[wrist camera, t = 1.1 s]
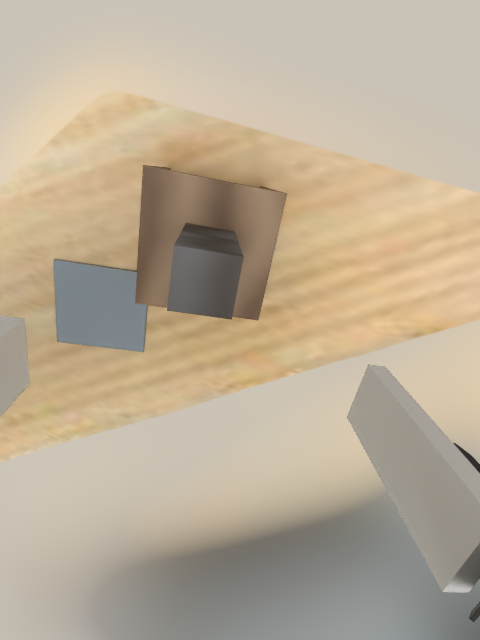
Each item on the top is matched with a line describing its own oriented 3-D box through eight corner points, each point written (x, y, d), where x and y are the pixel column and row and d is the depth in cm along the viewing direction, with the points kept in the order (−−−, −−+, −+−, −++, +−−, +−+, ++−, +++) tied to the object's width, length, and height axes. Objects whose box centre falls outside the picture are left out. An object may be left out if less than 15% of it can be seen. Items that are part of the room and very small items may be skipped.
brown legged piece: (155, 269, 44) (104, 354, 23) (163, 167, 39) (108, 161, 18) (247, 283, 46) (274, 373, 25) (266, 187, 41) (320, 203, 20)
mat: (58, 340, 47) (57, 341, 47) (55, 258, 42) (53, 259, 42) (143, 350, 49) (143, 351, 48) (149, 273, 44) (148, 274, 44)
